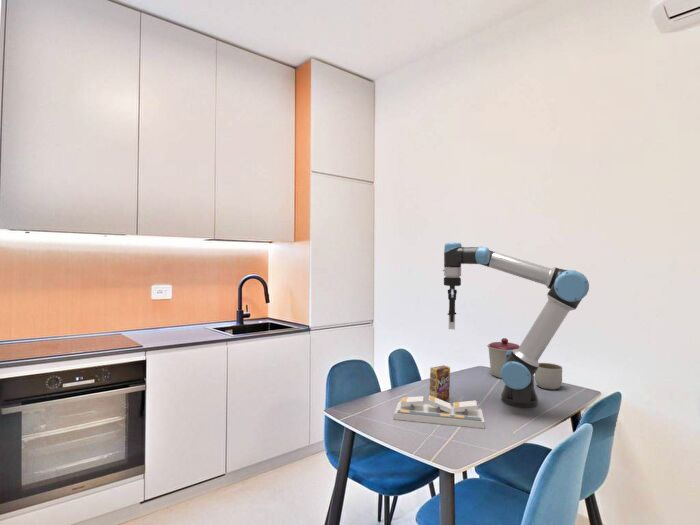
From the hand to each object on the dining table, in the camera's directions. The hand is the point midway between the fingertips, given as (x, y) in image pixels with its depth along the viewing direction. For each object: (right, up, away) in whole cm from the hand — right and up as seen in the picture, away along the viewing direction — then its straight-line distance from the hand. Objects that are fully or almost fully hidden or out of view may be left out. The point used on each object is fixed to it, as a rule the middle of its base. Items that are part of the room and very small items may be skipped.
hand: (451, 328), depth 186 cm
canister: (+39, -33, +40) cm, 65 cm away
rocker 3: (0, -28, -22) cm, 35 cm away
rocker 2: (-10, -28, -19) cm, 35 cm away
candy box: (-6, -33, -1) cm, 33 cm away
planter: (+54, -33, +21) cm, 67 cm away
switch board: (-10, -32, -20) cm, 39 cm away
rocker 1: (-20, -28, -17) cm, 38 cm away
